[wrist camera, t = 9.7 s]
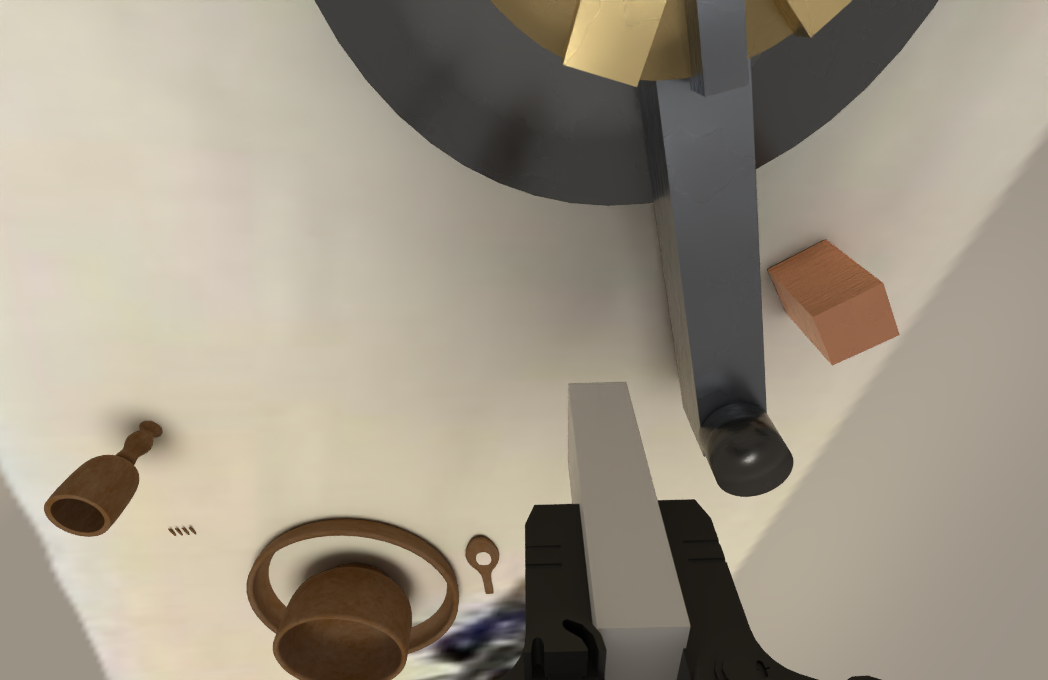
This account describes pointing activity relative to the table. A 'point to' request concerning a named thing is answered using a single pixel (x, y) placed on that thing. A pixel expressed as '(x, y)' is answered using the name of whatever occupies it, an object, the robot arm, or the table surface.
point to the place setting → (319, 603)
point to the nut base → (623, 121)
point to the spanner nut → (697, 190)
